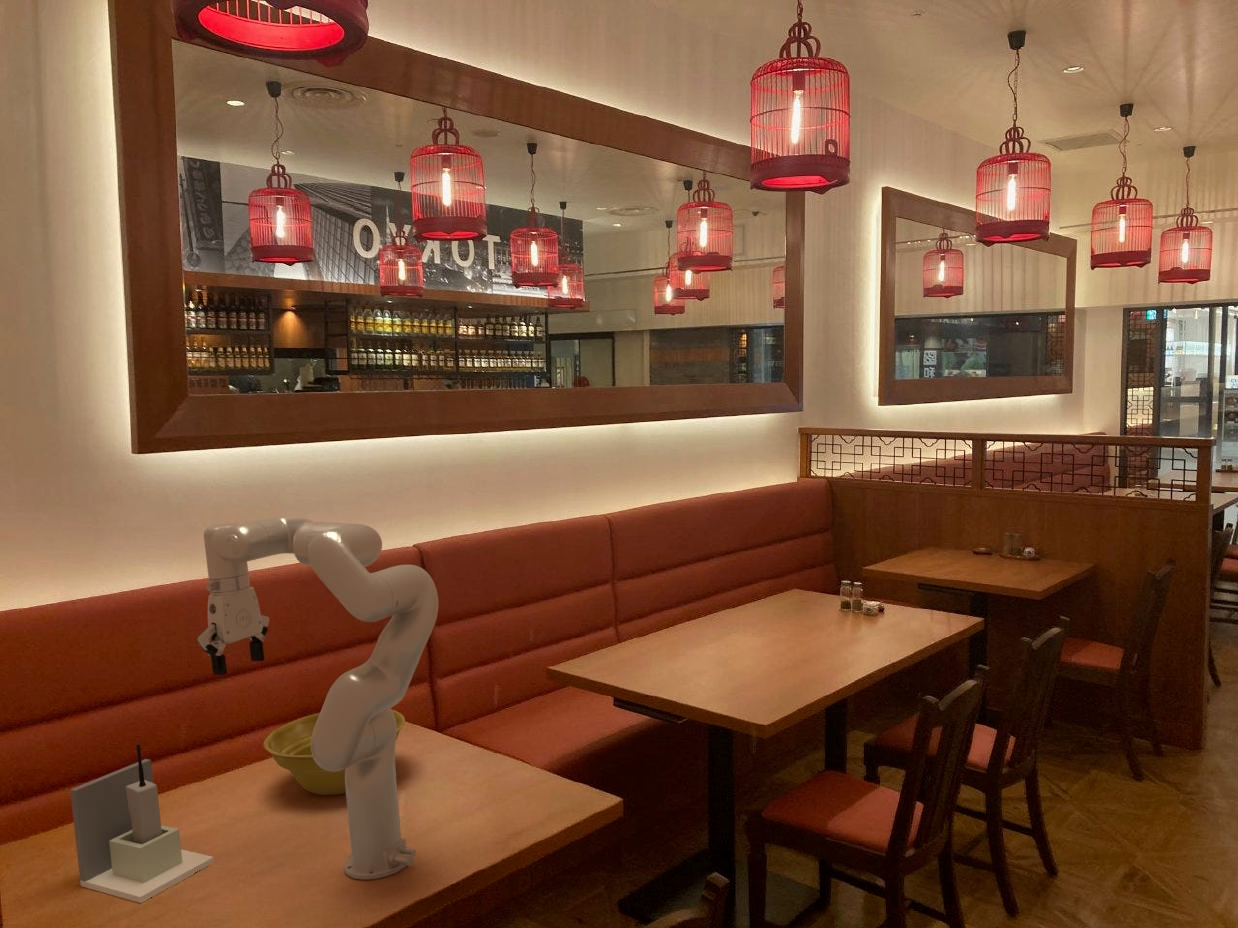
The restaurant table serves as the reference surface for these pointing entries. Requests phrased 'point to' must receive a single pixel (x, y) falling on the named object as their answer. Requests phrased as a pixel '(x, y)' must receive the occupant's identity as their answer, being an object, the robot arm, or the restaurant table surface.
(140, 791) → the vintage mobile phone
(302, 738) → the planter bowl
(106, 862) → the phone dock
